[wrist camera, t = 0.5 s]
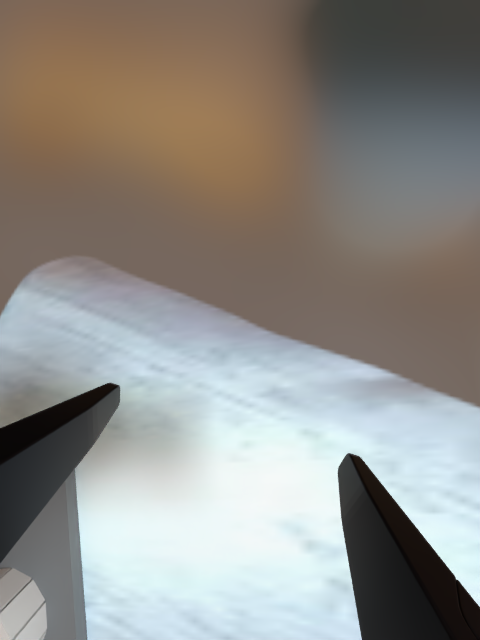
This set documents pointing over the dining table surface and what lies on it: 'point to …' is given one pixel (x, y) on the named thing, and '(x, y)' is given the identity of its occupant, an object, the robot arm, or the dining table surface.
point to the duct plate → (45, 576)
